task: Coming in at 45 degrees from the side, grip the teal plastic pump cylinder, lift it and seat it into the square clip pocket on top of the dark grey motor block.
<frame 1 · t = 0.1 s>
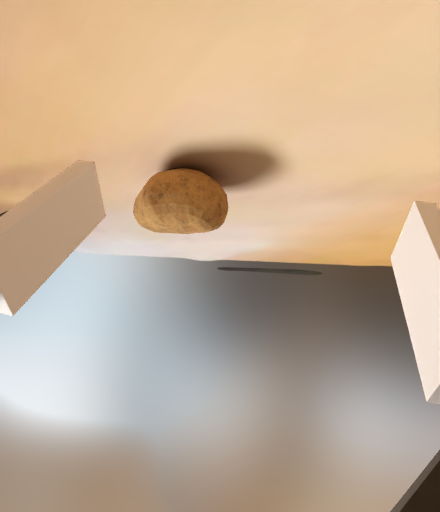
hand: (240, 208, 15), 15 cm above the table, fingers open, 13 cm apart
potato: (185, 173, 46), on the table
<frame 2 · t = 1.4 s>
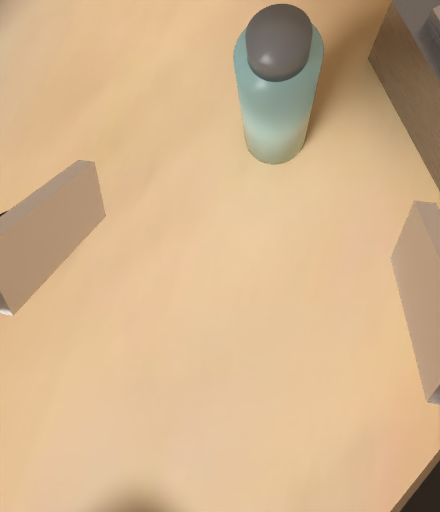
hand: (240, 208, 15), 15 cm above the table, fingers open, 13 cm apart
pump: (274, 135, 31), on the table
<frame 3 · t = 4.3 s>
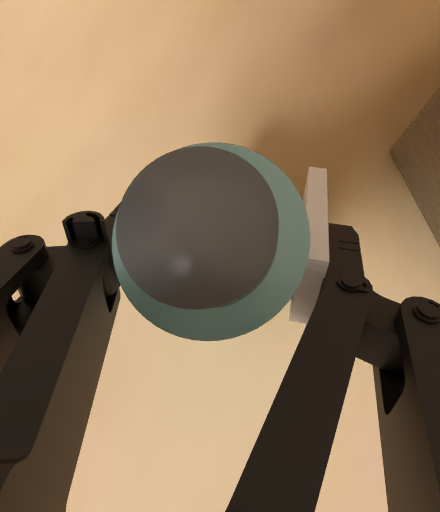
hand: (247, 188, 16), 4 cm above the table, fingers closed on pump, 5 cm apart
pump: (241, 272, 19), on the table, touching gripper
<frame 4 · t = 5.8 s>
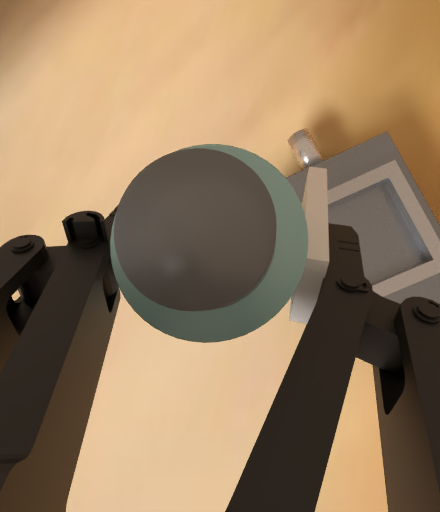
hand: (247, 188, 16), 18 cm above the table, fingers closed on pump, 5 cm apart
motor: (345, 249, 33), on the table
pump: (240, 273, 19), point 15 cm above the table, touching gripper
when the fingers open (11 cm above the table, at t = 7.7 s): pump drops 2 cm, resting on motor.
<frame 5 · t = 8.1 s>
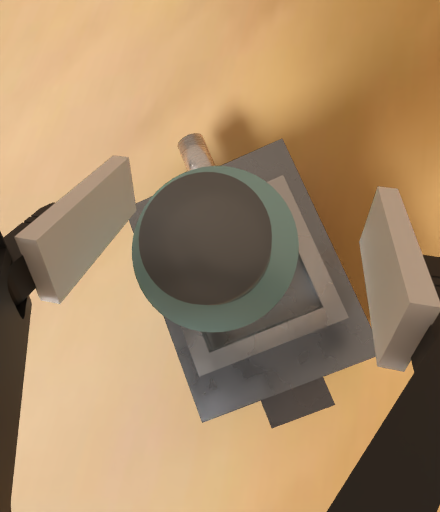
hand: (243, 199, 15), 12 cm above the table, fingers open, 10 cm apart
motor: (249, 281, 27), on the table
pump: (240, 276, 21), point 6 cm above the table, touching motor
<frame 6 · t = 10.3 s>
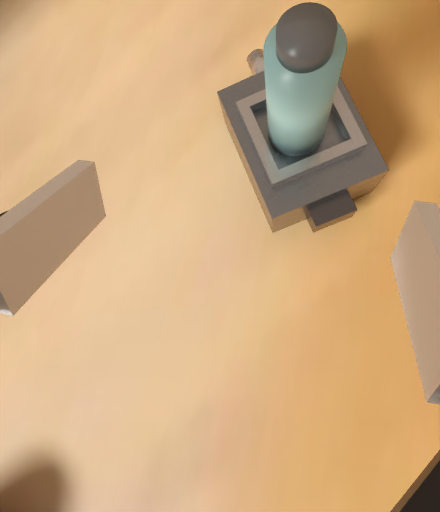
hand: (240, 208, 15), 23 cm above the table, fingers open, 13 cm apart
motor: (294, 156, 38), on the table
pump: (296, 129, 33), point 6 cm above the table, touching motor
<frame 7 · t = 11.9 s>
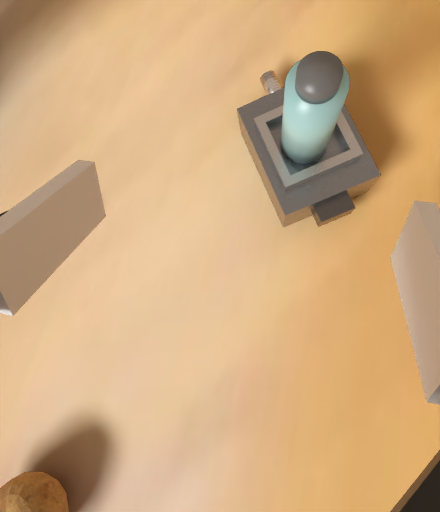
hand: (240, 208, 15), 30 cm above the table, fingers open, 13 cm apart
motor: (301, 161, 45), on the table
potato: (40, 507, 44), on the table
pump: (304, 141, 39), point 6 cm above the table, touching motor
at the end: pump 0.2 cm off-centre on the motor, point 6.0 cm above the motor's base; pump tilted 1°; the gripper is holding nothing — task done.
